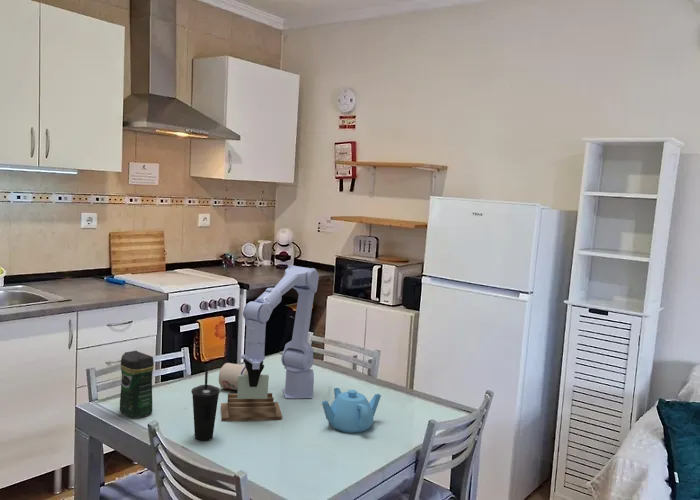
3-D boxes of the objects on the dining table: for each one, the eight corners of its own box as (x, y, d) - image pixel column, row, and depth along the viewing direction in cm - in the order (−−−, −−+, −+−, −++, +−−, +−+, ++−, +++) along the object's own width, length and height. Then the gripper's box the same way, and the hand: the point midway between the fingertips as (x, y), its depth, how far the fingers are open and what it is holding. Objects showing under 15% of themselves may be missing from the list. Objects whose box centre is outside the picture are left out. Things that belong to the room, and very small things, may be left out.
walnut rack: (277, 404, 193) (278, 392, 193) (282, 419, 182) (282, 407, 181) (220, 406, 189) (221, 393, 189) (221, 421, 177) (222, 408, 177)
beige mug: (214, 384, 200) (245, 389, 196) (223, 358, 204) (253, 363, 200) (230, 393, 210) (259, 399, 206) (238, 368, 214) (267, 373, 210)
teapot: (317, 429, 176) (319, 394, 175) (333, 412, 191) (335, 379, 189) (366, 439, 172) (369, 403, 171) (379, 420, 186) (382, 387, 185)
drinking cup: (223, 435, 168) (226, 366, 166) (208, 445, 161) (211, 373, 159) (199, 429, 170) (202, 361, 168) (184, 440, 163) (186, 369, 161)
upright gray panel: (266, 396, 183) (268, 374, 183) (267, 398, 182) (268, 376, 181) (237, 396, 181) (238, 374, 180) (237, 398, 180) (238, 376, 179)
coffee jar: (156, 414, 180) (158, 354, 177) (133, 421, 173) (134, 359, 171) (138, 405, 185) (140, 347, 183) (115, 411, 179) (116, 351, 177)
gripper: (240, 335, 186) (238, 377, 187) (243, 348, 172) (240, 393, 173) (263, 335, 187) (261, 377, 189) (267, 348, 173) (265, 393, 175)
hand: (253, 385), depth 181 cm, fingers closed on upright gray panel, 2 cm apart
